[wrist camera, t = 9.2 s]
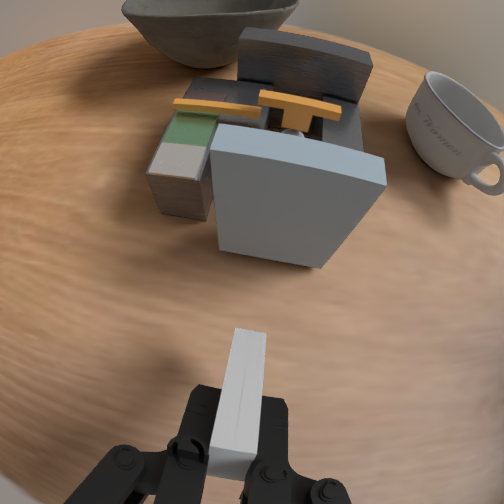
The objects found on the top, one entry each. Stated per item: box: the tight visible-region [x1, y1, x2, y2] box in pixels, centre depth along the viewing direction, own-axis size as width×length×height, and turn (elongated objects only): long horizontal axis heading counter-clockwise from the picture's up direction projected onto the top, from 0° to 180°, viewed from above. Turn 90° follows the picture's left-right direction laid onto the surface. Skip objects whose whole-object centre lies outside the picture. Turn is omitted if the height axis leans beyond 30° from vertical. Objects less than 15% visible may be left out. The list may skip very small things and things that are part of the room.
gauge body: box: [145, 27, 373, 221], centre depth 19 cm, size 14×13×9 cm
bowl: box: [121, 0, 299, 68], centre depth 25 cm, size 19×19×10 cm
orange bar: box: [173, 90, 342, 132], centre depth 17 cm, size 11×1×2 cm, turn 80°
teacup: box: [406, 71, 504, 196], centre depth 22 cm, size 14×11×8 cm
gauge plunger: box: [210, 123, 387, 269], centre depth 17 cm, size 7×8×10 cm
